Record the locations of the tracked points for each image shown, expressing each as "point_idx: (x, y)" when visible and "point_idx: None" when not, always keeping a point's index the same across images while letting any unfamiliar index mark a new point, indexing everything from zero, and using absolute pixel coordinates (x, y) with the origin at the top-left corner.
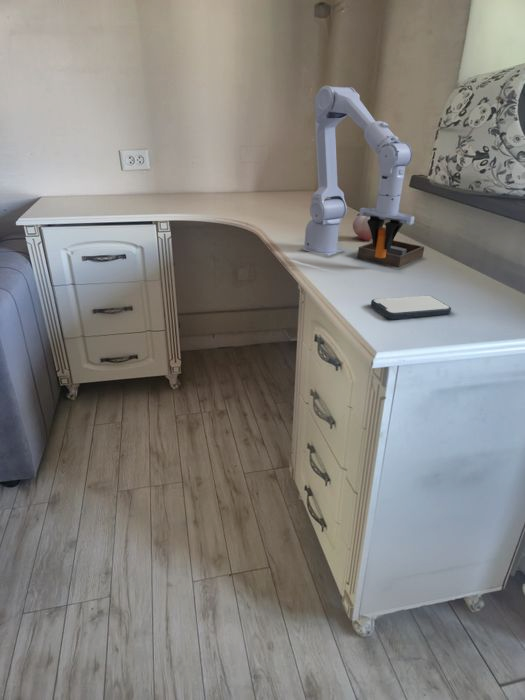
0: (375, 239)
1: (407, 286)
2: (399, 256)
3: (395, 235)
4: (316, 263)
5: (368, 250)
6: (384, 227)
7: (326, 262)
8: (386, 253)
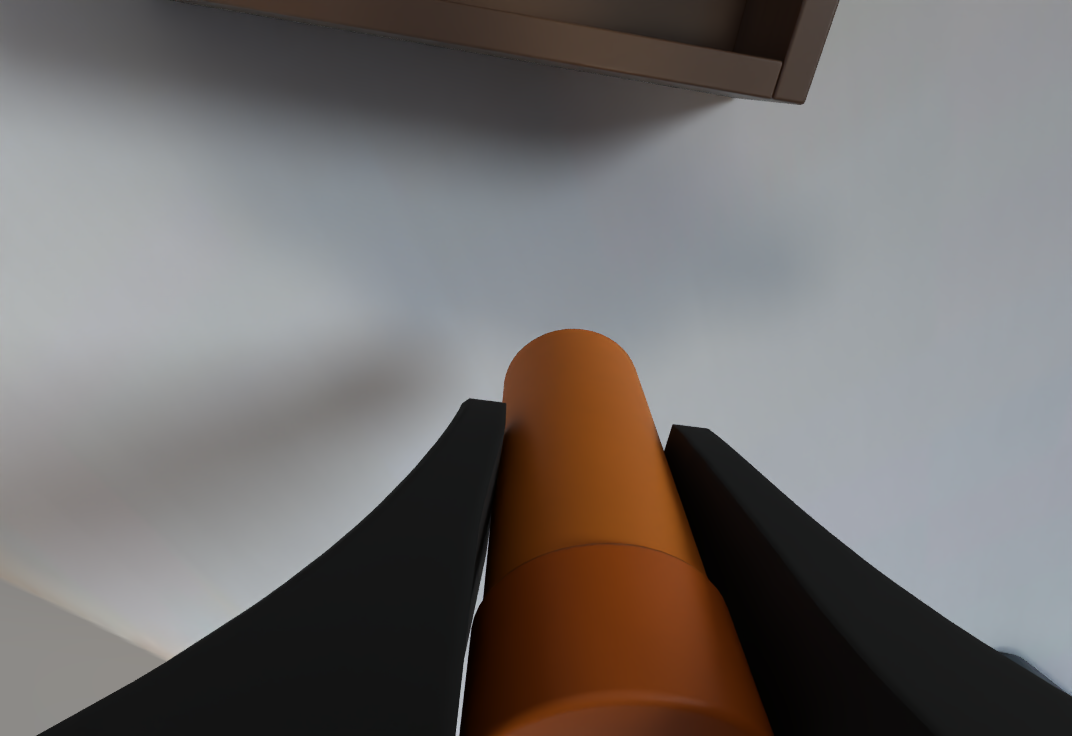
0: (474, 598)
1: (866, 513)
2: (785, 100)
3: (880, 584)
4: (22, 440)
5: (225, 5)
6: (578, 712)
7: (45, 363)
8: (560, 58)
